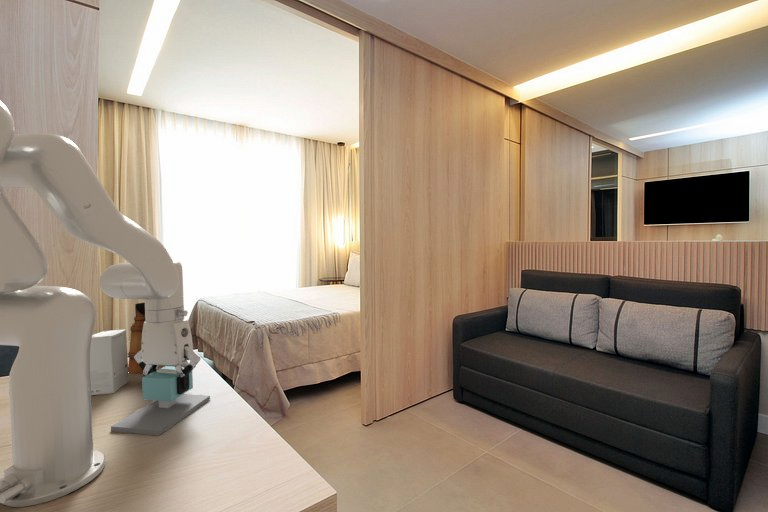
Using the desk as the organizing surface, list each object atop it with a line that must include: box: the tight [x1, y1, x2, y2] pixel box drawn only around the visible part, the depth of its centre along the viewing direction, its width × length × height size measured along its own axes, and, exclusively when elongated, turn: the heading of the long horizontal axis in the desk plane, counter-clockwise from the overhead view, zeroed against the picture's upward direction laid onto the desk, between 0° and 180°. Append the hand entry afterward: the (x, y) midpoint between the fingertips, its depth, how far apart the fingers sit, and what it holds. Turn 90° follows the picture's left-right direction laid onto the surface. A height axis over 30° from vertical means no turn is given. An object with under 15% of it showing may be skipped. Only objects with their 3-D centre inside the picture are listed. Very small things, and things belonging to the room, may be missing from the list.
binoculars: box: [127, 302, 146, 377], centre depth 104 cm, size 18×8×20 cm, turn 57°
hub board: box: [110, 393, 211, 437], centre depth 79 cm, size 16×11×5 cm
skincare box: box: [90, 329, 130, 396], centre depth 93 cm, size 8×6×15 cm
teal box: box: [141, 366, 194, 402], centre depth 82 cm, size 7×7×6 cm
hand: (168, 390), depth 82 cm, fingers closed on teal box, 7 cm apart
